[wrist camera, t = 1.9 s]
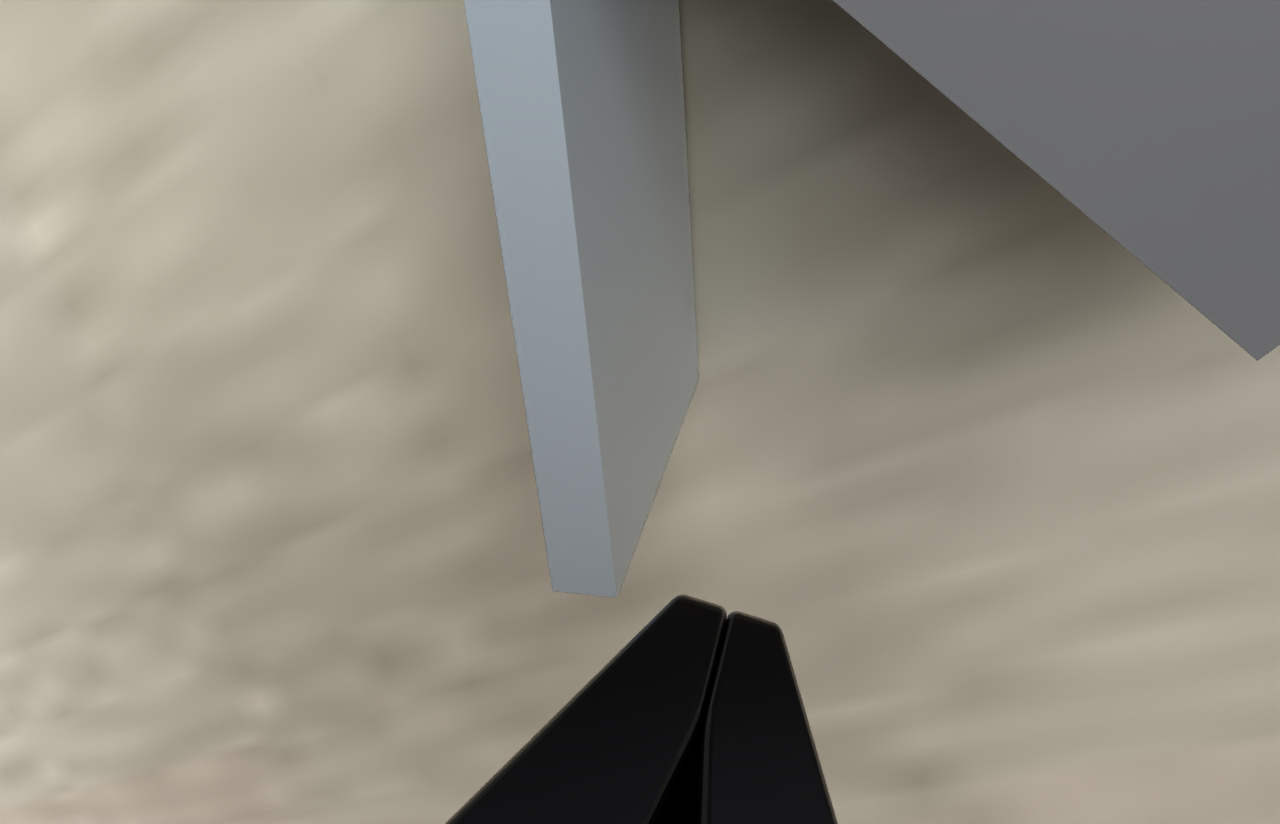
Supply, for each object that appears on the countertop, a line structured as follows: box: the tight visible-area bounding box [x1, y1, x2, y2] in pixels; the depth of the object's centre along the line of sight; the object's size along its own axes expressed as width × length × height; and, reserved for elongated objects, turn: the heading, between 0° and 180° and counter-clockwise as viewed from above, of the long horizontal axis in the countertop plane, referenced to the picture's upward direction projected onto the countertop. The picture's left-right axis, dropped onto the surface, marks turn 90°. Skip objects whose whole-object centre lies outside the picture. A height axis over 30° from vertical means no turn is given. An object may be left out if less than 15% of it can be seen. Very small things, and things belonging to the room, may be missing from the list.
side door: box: [464, 0, 699, 598], centre depth 14 cm, size 1×9×5 cm, turn 4°
